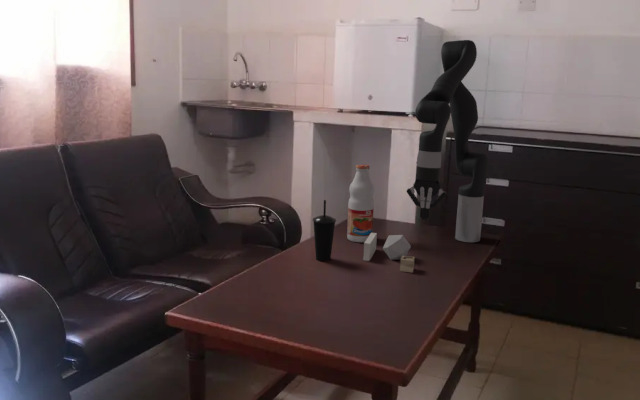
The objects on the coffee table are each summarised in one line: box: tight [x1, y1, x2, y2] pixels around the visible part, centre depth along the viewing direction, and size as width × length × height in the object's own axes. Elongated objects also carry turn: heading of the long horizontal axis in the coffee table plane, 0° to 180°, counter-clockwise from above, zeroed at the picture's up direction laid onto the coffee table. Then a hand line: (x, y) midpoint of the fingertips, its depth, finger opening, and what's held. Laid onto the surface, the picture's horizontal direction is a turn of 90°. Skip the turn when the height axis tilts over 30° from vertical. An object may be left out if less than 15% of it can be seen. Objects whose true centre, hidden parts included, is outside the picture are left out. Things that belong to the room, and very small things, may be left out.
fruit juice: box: [346, 163, 375, 243], centre depth 225 cm, size 9×9×28 cm
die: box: [382, 234, 412, 261], centre depth 206 cm, size 8×9×10 cm
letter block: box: [399, 255, 415, 274], centre depth 195 cm, size 4×4×4 cm
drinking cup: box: [312, 199, 337, 262], centre depth 201 cm, size 8×8×20 cm
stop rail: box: [362, 232, 378, 262], centre depth 209 cm, size 14×2×6 cm, turn 166°
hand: (424, 219), depth 195 cm, fingers closed
